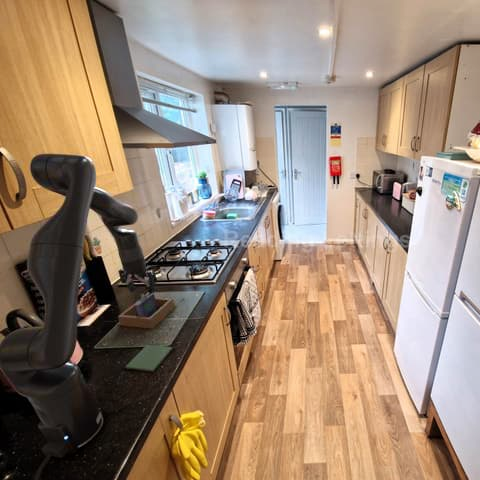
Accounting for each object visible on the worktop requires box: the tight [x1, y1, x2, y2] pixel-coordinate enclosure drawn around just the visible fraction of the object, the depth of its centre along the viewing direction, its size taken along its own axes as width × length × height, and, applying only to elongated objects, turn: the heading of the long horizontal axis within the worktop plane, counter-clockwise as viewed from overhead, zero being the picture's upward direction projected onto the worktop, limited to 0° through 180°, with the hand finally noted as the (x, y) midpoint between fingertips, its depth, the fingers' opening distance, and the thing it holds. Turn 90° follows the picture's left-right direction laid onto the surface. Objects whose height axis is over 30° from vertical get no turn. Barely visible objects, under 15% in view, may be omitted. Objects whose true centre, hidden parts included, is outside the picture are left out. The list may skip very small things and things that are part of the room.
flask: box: [134, 292, 159, 317], centre depth 111 cm, size 9×3×11 cm, turn 172°
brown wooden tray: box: [117, 297, 176, 330], centre depth 112 cm, size 14×14×4 cm
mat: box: [125, 344, 174, 372], centre depth 91 cm, size 10×10×1 cm
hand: (142, 292), depth 109 cm, fingers open, 8 cm apart
